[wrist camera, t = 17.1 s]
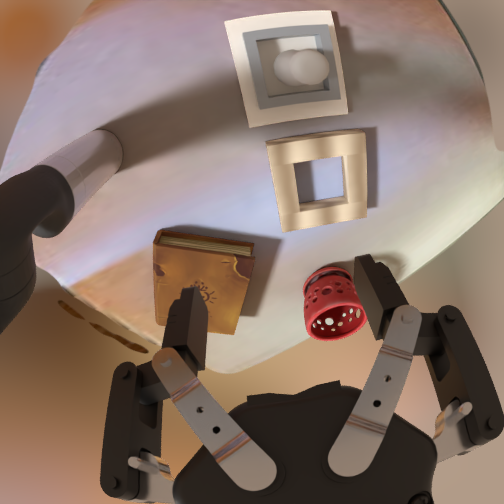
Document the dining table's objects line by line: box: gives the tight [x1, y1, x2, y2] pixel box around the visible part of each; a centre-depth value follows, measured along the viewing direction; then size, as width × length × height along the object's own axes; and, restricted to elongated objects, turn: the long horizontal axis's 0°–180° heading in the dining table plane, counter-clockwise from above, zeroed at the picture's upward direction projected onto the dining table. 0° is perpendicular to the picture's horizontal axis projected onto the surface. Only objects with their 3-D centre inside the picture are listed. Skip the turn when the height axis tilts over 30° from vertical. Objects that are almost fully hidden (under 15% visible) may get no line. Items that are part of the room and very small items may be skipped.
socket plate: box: [224, 11, 348, 128], centre depth 33 cm, size 16×18×4 cm
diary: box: [153, 230, 255, 335], centre depth 57 cm, size 23×19×6 cm
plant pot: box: [303, 267, 367, 341], centre depth 57 cm, size 13×13×12 cm
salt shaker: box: [274, 49, 330, 87], centre depth 28 cm, size 6×6×13 cm
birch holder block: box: [265, 129, 367, 233], centre depth 45 cm, size 16×16×3 cm
